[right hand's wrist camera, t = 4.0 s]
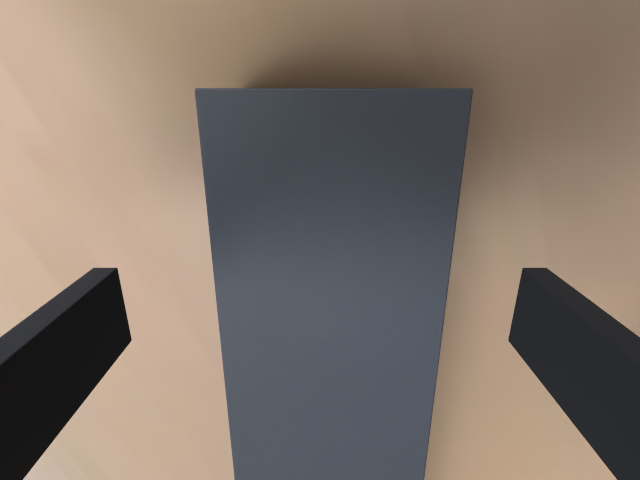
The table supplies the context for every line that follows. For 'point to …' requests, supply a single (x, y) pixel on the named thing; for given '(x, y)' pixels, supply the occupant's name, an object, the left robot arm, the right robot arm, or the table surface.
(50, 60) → the table surface
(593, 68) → the table surface
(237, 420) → the thick board
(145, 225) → the table surface
